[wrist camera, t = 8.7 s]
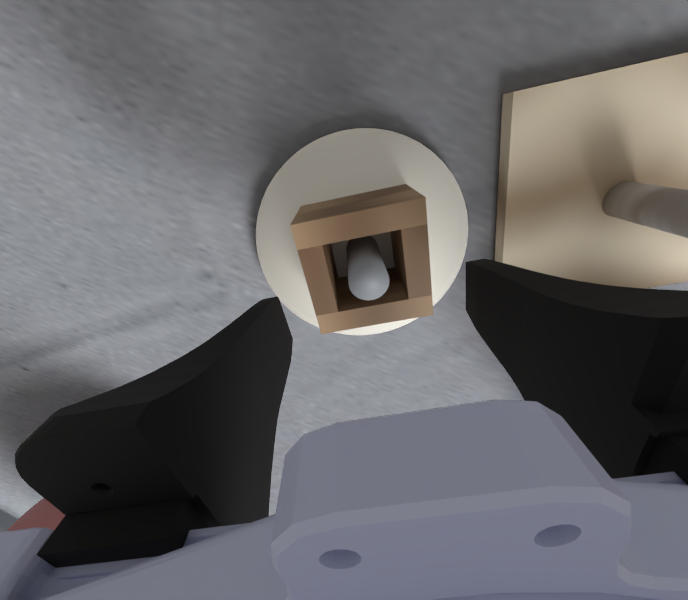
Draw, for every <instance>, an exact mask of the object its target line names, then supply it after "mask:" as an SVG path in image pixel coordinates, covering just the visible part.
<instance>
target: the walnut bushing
mask: <svg viewBox="0 0 688 600" xmlns="http://www.w3.org/2000/svg"><path fill="white" fill-rule="evenodd" d="M290 227H291V230H292V234H293V237H294V241H295V244H296V248H297V251H298V255H299V258H300V262H301V265H302V269H303V272H304V276H305V279H306V282H307V286H308V289H309V293H310V296H311V300H312V303H313V307H314V310H315V314H316V317H317V321H318V324H319V328H320V331H321V334H326V333H331V332H337V331H343V330H349V329H354V328H360V327H366V326H371V325H377V324H383V323H389V322H394V321H400V320H406V319H412V318H417V317H423V316H429V315H433V302H432V286H431V271H430V256H429V241H428V225H427V210H426V197H425V196H423V195H422V194H420V193H419V192H417V191H416V190H414V189H413V188H411V187H410V186H408V185H407V184H402V185H398V186H393V187H388V188H384V189H379V190H374V191H369V192H365V193H360V194H355V195H350V196H346V197H341V198H336V199H332V200H327V201H322V202H317V203H313V204H308V205H303V206H301V207H300V208H299V210H298V212H297V214H296V216H295V217H294V219H293V221H292V223H291V224H290ZM386 232H390V234H391V241H392V249H393V257H394V265H395V267H393V268H388V269H386V270H387V273H388V275H389V287H388V289H387V291H386V292H385V293H384V294H383V295H382V296H381V297H379V298H377V299H374V300H362V299H359V298H357V297H356V296H355V295H353V293H352V292H351V291H350V288H349V283H348V276H346V277H340V278H338V274H337V269H336V265H335V260H334V256H333V252H332V247H331V243H335V242H340V241H345V240H350V239H355V238H360V237H365V236H370V235H375V234H381V233H386Z"/></svg>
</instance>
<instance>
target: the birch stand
mask: <svg viewBox="0 0 688 600" xmlns="http://www.w3.org/2000/svg"><path fill="white" fill-rule="evenodd" d="M495 261H497V262H501V263H505V264H509V265H513V266H516V267H520V268H524V269H527V270H531V271H535V272H539V273H543V274H548V275H552V276H557V277H561V278H566V279H571V280H577V281H583V282H590V283H596V284H603V285H611V286H620V287H632V288H643V289H644V288H650V287H656V286H662V285H668V284H674V283H680V282H686V281H688V52H687V53H682V54H678V55H673V56H669V57H665V58H660V59H656V60H651V61H647V62H643V63H638V64H634V65H629V66H625V67H620V68H616V69H612V70H607V71H603V72H598V73H594V74H589V75H585V76H581V77H576V78H572V79H567V80H563V81H559V82H554V83H550V84H545V85H541V86H536V87H532V88H528V89H523V90H519V91H514V92H510V93H507V94H503V100H502V120H501V141H500V161H499V181H498V201H497V222H496V242H495Z"/></svg>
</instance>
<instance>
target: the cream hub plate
mask: <svg viewBox="0 0 688 600" xmlns="http://www.w3.org/2000/svg"><path fill="white" fill-rule="evenodd" d="M402 184H407V185H408V186H410V187H411V188H413V189H414V190H416V191H417V192H419V193H420V194H422V195H423V196H425V197H426V210H427V225H428V241H429V256H430V271H431V286H432V302H433V306H434V305H435V304H436V303H437V302H438V301H439V300H440V299H441V298H442V296H443V295H444V294H445V293H446V292H447V290H448V289H449V287H450V286H451V284H452V283H453V281H454V280H455V278H456V276H457V274H458V272H459V270H460V267H461V265H462V262H463V259H464V256H465V251H466V246H467V241H468V215H467V210H466V205H465V201H464V198H463V195H462V192H461V190H460V187H459V185H458V183H457V181H456V180H455V178H454V176H453V174H452V173H451V172H450V170H449V169H448V168H447V166H446V165H445V164H444V162H443V161H442V160H441V159H440V158H439V157H438V156H436V155H435V154H434V153H433V152H432V151H431V150H429V149H428V148H427V147H425V146H424V145H422V144H421V143H419V142H417V141H415V140H413V139H411V138H409V137H407V136H405V135H402V134H399V133H396V132H393V131H389V130H382V129H376V128H356V129H349V130H342V131H338V132H335V133H332V134H329V135H325V136H323V137H321V138H319V139H317V140H315V141H313V142H311V143H309V144H308V145H306V146H305V147H303V148H302V149H300V150H299V151H297V152H296V153H295V154H294V155H293V156H292V157H291V158H290V159H288V160H287V161H286V162H285V163H284V165H283V166H282V167H281V168H280V169H279V171H278V172H277V173H276V174H275V176H274V178H273V179H272V181H271V182H270V184H269V186H268V187H267V190H266V192H265V194H264V197H263V199H262V201H261V205H260V209H259V212H258V217H257V225H256V246H257V253H258V258H259V261H260V265H261V268H262V271H263V273H264V275H265V278H266V280H267V282H268V283H269V285H270V287H271V289H272V290H273V292H274V293H275V294H276V296H277V297H278V298H279V299H280V301H281V302H282V303H283V304H284V305H285V306H286V307H287V308H288V309H289V310H291V311H292V312H293V313H294V314H296V315H297V316H298V317H300V318H301V319H303V320H305V321H306V322H308V323H310V324H312V325H314V326H316V327H319V324H318V321H317V317H316V314H315V310H314V307H313V303H312V300H311V296H310V293H309V289H308V286H307V282H306V279H305V276H304V272H303V269H302V265H301V262H300V258H299V255H298V251H297V248H296V244H295V241H294V237H293V234H292V230H291V227H290V224H291V223H292V221H293V219H294V217H295V216H296V214H297V212H298V210H299V208H300V207H301V206H303V205H308V204H313V203H317V202H322V201H327V200H332V199H336V198H341V197H346V196H350V195H355V194H360V193H365V192H369V191H374V190H379V189H384V188H388V187H393V186H398V185H402ZM331 247H332V252H333V256H334V260H335V265H336V269H337V274H338V278H340V277H346V276H348V283H349V288H350V291H351V292H352V293H353V295H355V296H356V297H357V298H359V299H362V300H374V299H377V298H379V297H381V296H382V295H383V294H384V293H385V292H386V291H387V289H388V287H389V275H388V273H387V270H386V269H388V268H393V267H395V265H394V257H393V249H392V241H391V234H390V232H386V233H381V234H375V235H370V236H365V237H360V238H355V239H350V240H345V241H340V242H335V243H331ZM417 318H418V317H417ZM417 318H412V319H406V320H400V321H394V322H389V323H383V324H377V325H371V326H366V327H360V328H354V329H349V330H343V331H337V332H335V333H340V334H347V335H370V334H378V333H382V332H387V331H390V330H393V329H396V328H399V327H401V326H403V325H406V324H408V323H410V322H412V321H413V320H415V319H417Z"/></svg>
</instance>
